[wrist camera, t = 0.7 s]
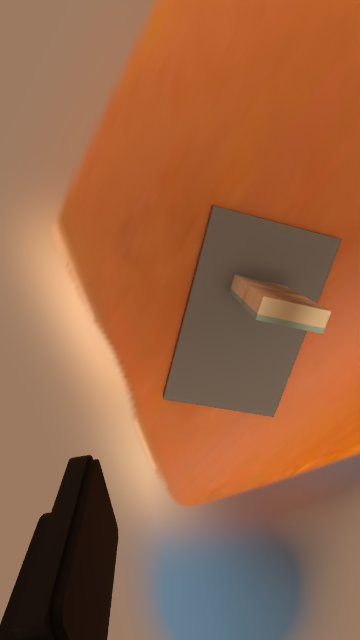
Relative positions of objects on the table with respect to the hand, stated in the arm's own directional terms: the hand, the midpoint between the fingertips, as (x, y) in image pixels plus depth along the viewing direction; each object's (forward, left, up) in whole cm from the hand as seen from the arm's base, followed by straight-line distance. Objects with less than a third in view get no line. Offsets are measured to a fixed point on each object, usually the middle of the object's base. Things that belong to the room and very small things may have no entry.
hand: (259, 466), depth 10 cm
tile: (-8, -1, -26) cm, 27 cm away
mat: (-8, +3, -27) cm, 28 cm away
